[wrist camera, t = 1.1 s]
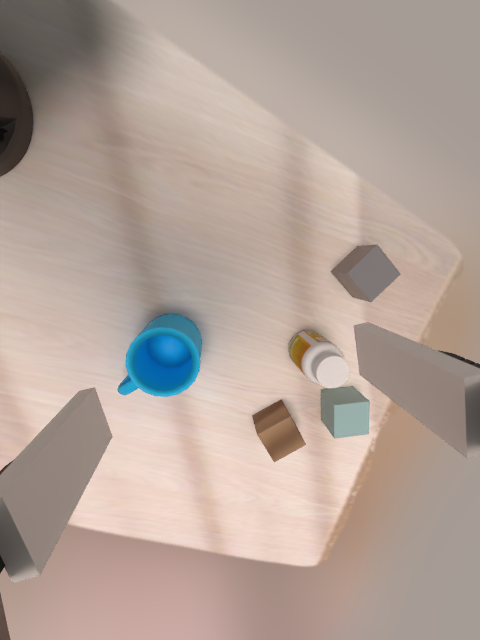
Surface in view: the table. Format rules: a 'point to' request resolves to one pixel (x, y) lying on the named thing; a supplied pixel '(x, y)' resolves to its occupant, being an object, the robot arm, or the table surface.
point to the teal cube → (345, 412)
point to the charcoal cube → (366, 272)
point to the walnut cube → (277, 431)
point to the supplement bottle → (319, 359)
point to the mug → (163, 357)
